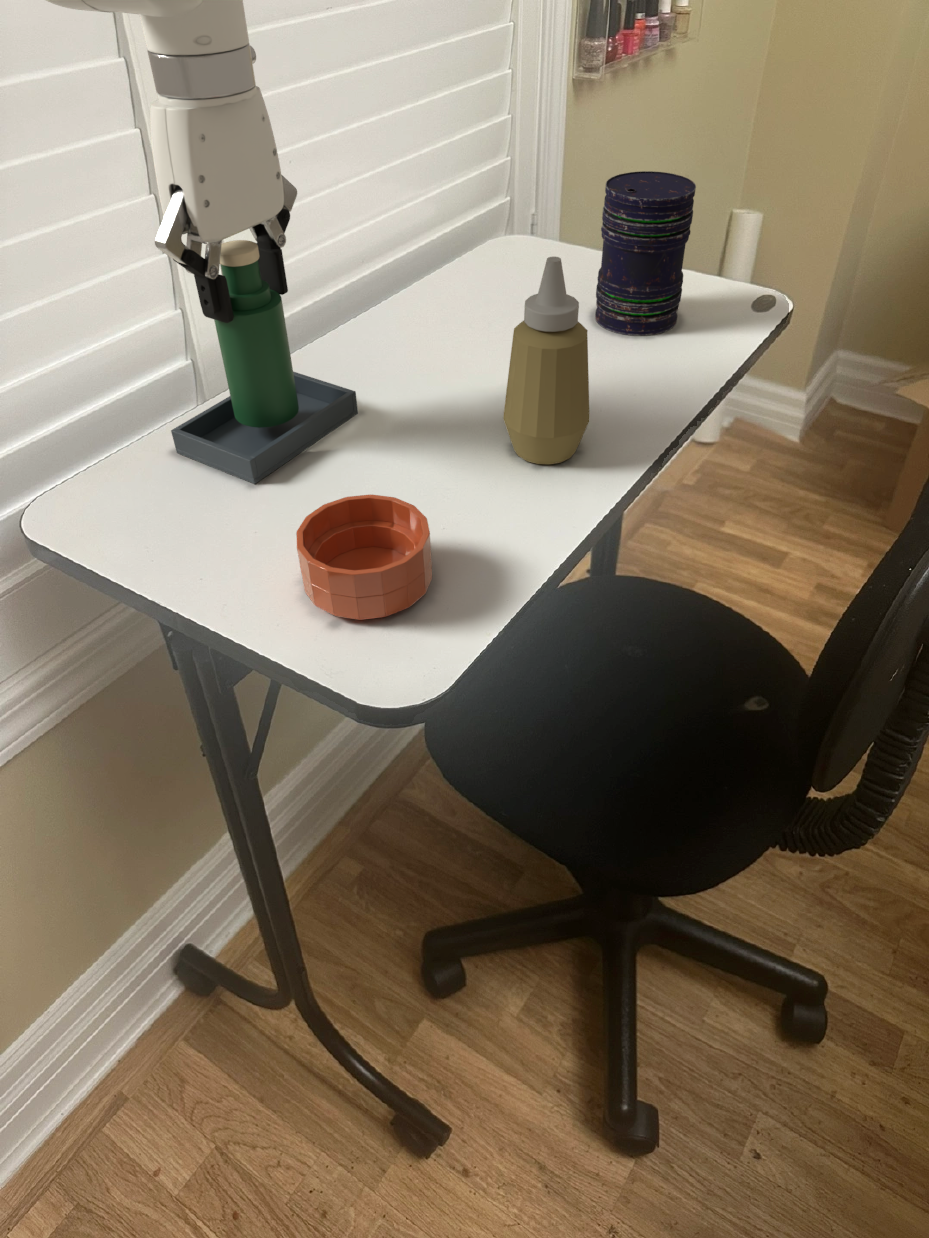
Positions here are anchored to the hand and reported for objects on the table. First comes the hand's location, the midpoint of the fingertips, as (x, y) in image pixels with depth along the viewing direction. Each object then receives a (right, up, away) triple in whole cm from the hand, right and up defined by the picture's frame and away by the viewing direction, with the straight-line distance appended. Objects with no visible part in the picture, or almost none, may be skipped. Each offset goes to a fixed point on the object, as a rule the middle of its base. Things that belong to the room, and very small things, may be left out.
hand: (246, 302), depth 81 cm
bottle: (0, -8, +7) cm, 11 cm away
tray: (0, -10, +9) cm, 13 cm away
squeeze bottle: (+27, -12, +6) cm, 30 cm away
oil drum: (+40, +7, +27) cm, 49 cm away
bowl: (+12, -25, -9) cm, 29 cm away
